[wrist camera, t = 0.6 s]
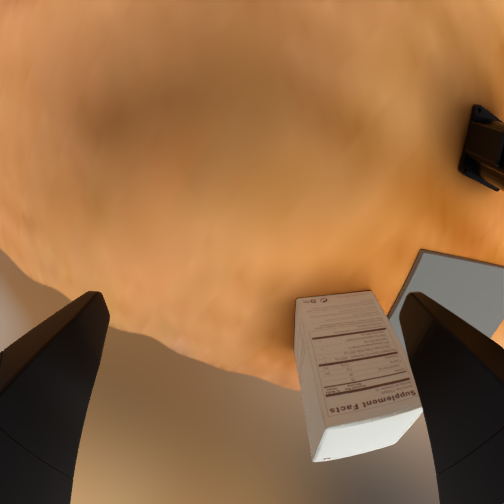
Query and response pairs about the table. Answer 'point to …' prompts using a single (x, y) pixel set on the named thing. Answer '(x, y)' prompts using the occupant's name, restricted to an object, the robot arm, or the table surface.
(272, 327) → the table surface
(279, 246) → the table surface
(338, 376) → the supplement box
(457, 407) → the robot arm
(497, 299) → the mat
